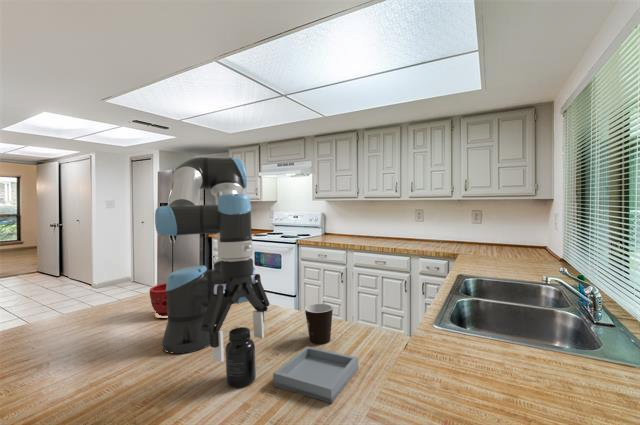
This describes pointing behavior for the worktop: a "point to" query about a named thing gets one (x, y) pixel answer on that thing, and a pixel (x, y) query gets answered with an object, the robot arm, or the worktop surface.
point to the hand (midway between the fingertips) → (240, 347)
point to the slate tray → (316, 373)
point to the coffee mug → (319, 323)
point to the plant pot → (160, 303)
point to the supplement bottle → (240, 358)
